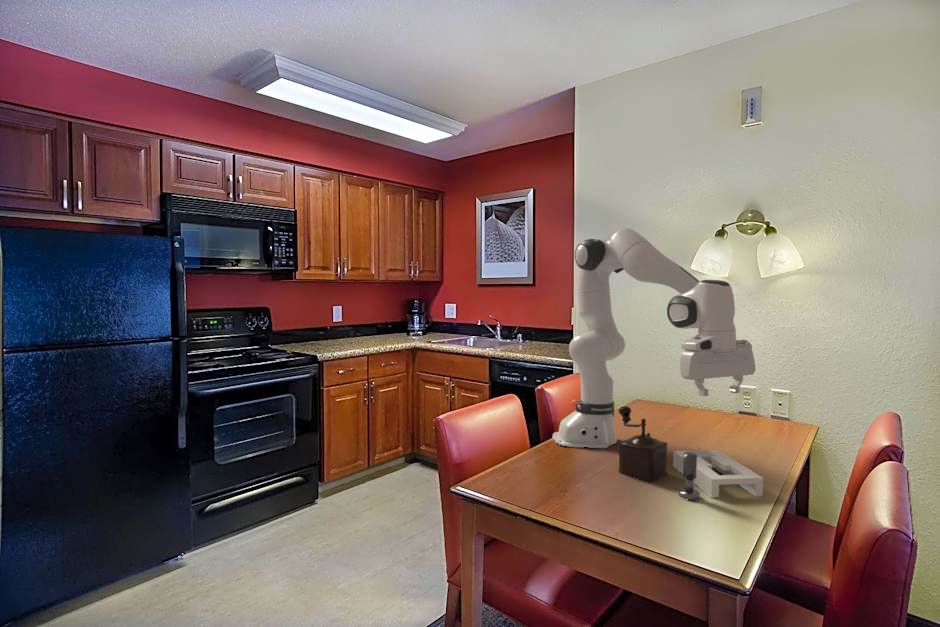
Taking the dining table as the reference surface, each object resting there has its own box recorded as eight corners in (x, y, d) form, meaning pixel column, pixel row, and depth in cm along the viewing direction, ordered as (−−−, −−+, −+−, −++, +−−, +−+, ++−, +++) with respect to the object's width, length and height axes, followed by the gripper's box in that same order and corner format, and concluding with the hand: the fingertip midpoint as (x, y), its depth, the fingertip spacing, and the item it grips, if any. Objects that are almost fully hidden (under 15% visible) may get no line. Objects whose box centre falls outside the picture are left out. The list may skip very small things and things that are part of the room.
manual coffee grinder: (669, 472, 151) (670, 413, 149) (650, 483, 143) (652, 420, 142) (622, 459, 162) (623, 403, 161) (602, 468, 154) (603, 410, 153)
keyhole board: (711, 497, 133) (711, 479, 133) (673, 466, 155) (673, 450, 155) (762, 496, 134) (763, 477, 134) (717, 465, 156) (717, 449, 156)
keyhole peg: (684, 501, 131) (685, 457, 131) (675, 493, 136) (676, 451, 136) (703, 500, 132) (704, 457, 131) (693, 492, 137) (694, 450, 136)
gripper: (742, 338, 138) (744, 389, 138) (675, 343, 133) (678, 395, 133) (760, 339, 132) (762, 392, 132) (691, 344, 127) (693, 399, 127)
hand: (719, 394), depth 132 cm, fingers open, 8 cm apart
